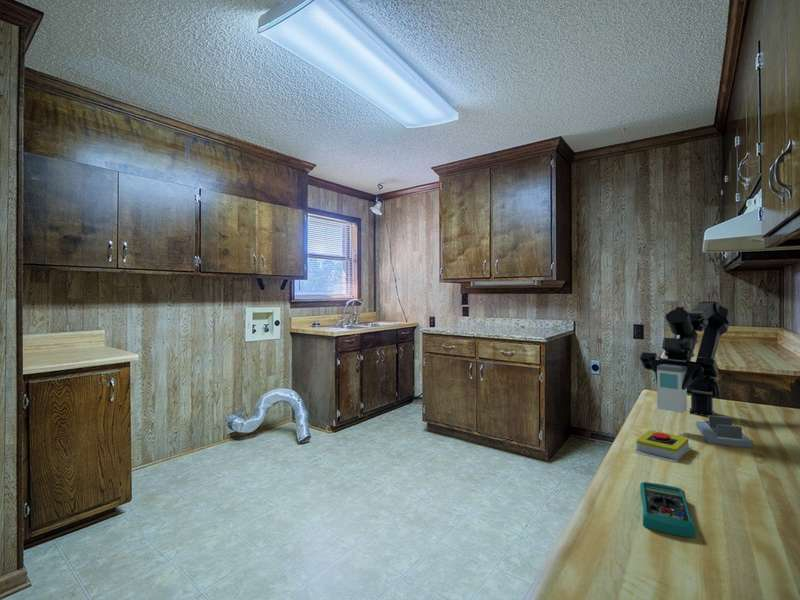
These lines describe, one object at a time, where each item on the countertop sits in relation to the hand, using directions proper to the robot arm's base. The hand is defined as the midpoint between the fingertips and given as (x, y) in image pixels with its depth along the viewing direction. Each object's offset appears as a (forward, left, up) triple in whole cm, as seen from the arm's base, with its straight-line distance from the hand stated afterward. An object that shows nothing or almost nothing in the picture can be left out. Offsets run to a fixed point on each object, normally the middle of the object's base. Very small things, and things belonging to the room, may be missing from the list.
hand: (669, 386), depth 117 cm
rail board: (-3, +12, -13) cm, 18 cm away
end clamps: (-1, +12, -11) cm, 16 cm away
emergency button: (+17, 0, -13) cm, 22 cm away
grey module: (-1, 0, -7) cm, 7 cm away
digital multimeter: (+52, +3, -13) cm, 54 cm away
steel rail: (-3, +12, -11) cm, 16 cm away
